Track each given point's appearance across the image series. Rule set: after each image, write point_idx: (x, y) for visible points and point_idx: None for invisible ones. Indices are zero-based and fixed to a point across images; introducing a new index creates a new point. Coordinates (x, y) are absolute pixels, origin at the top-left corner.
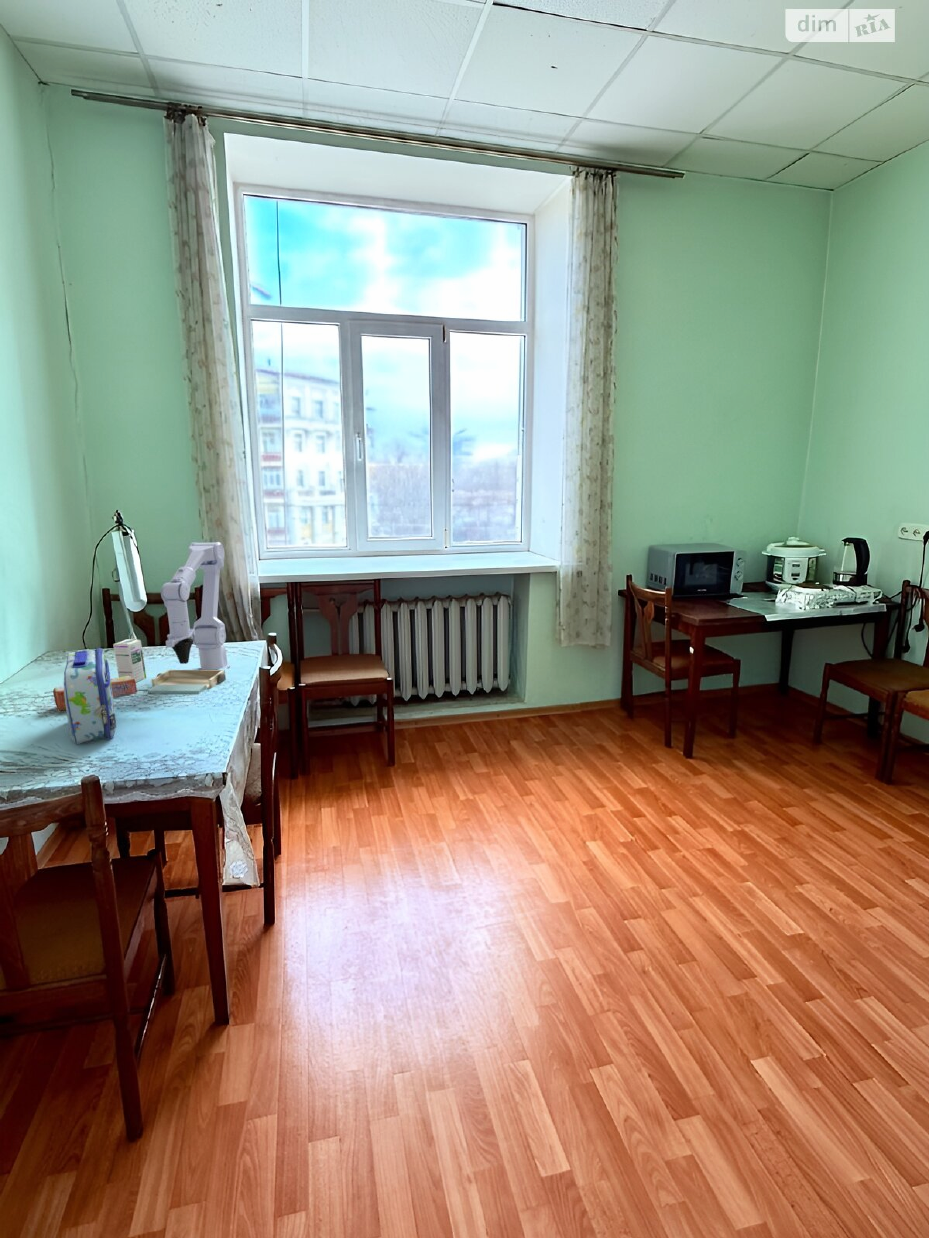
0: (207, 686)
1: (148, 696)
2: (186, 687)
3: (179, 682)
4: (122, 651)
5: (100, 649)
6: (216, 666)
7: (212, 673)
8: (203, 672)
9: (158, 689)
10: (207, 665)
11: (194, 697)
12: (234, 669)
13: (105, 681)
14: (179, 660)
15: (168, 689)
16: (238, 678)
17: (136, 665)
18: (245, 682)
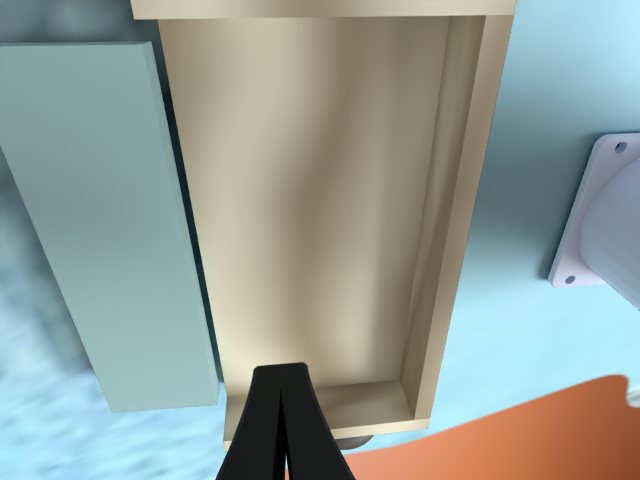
0: (245, 380)
1: (37, 11)
2: (145, 328)
3: (316, 175)
4: None
5: None
6: (614, 289)
7: (415, 362)
8: (425, 320)
9: (32, 146)
10: (621, 254)
11: None
12: (632, 310)
13: None
14: (246, 401)
15: (67, 230)
16: (456, 390)
17: None
18: (387, 436)
